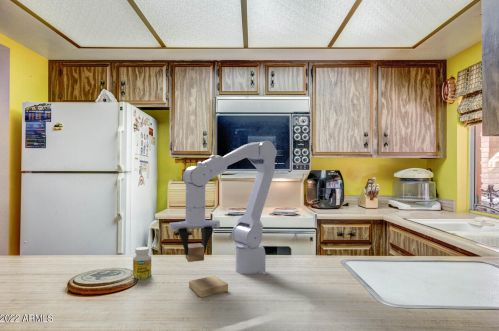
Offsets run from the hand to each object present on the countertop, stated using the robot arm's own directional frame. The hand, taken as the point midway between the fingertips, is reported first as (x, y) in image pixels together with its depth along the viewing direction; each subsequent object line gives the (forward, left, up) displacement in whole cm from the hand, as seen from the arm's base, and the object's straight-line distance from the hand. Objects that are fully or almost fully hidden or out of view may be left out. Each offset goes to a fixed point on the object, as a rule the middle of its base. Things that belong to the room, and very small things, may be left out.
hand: (194, 253), depth 91 cm
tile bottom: (-2, +7, -10) cm, 13 cm away
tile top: (-2, +7, -8) cm, 11 cm away
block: (0, 0, -2) cm, 2 cm away
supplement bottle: (+14, -11, -10) cm, 20 cm away
